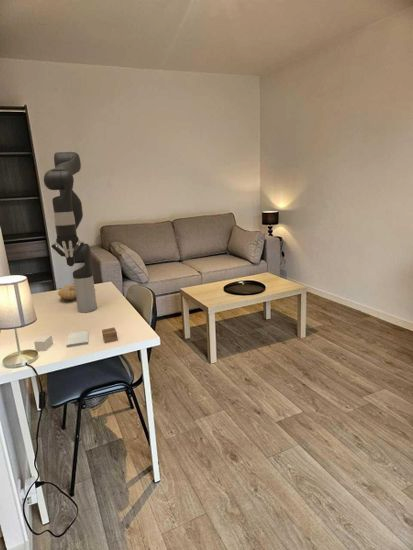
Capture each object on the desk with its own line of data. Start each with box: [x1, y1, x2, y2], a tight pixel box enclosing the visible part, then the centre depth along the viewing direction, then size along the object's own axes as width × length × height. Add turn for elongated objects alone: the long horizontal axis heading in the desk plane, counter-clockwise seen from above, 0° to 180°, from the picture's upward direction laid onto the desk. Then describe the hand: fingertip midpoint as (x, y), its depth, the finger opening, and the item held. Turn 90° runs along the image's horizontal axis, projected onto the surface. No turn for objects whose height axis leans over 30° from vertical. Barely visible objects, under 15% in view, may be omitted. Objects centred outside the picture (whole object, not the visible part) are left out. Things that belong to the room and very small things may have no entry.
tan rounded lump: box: [57, 283, 96, 301], centre depth 201 cm, size 8×22×15 cm
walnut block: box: [101, 327, 119, 344], centre depth 146 cm, size 5×5×4 cm
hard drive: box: [65, 329, 90, 348], centre depth 148 cm, size 2×8×12 cm
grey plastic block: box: [33, 334, 54, 352], centre depth 142 cm, size 6×4×4 cm, turn 176°
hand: (71, 265), depth 148 cm, fingers closed
